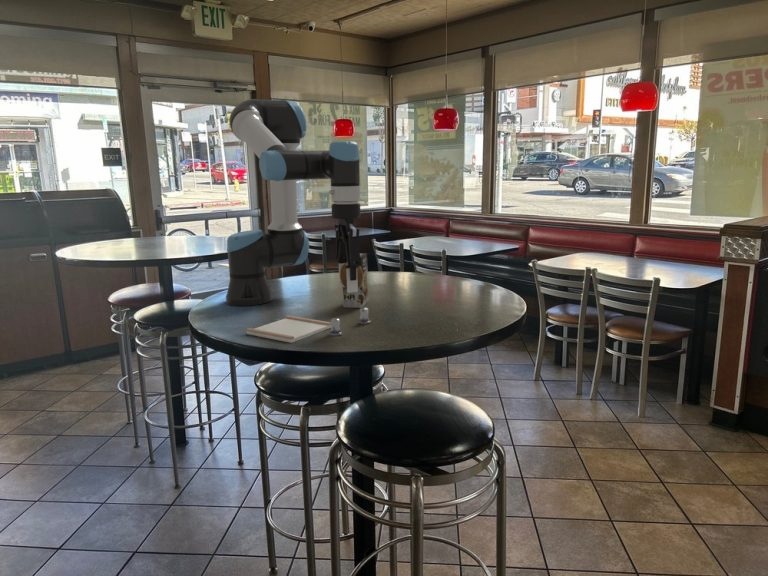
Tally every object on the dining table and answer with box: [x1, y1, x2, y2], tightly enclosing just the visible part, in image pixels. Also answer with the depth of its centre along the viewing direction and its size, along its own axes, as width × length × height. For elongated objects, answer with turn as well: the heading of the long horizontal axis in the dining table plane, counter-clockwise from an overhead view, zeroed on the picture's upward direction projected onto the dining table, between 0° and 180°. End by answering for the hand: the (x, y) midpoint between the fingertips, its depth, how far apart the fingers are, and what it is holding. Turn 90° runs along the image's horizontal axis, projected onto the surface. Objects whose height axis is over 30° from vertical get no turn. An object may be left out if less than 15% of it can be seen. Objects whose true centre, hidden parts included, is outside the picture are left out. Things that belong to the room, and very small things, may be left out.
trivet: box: [246, 315, 331, 344], centre depth 149 cm, size 16×16×1 cm
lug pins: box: [328, 307, 372, 337], centre depth 150 cm, size 4×17×4 cm, turn 146°
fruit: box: [340, 263, 363, 288], centre depth 148 cm, size 6×6×8 cm
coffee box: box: [342, 252, 369, 309], centre depth 176 cm, size 9×6×16 cm
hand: (348, 289), depth 149 cm, fingers closed on fruit, 6 cm apart
